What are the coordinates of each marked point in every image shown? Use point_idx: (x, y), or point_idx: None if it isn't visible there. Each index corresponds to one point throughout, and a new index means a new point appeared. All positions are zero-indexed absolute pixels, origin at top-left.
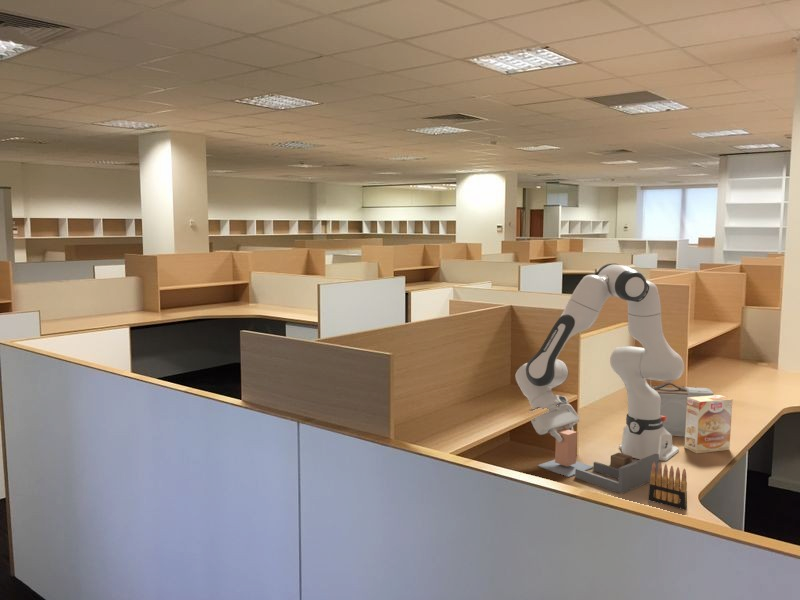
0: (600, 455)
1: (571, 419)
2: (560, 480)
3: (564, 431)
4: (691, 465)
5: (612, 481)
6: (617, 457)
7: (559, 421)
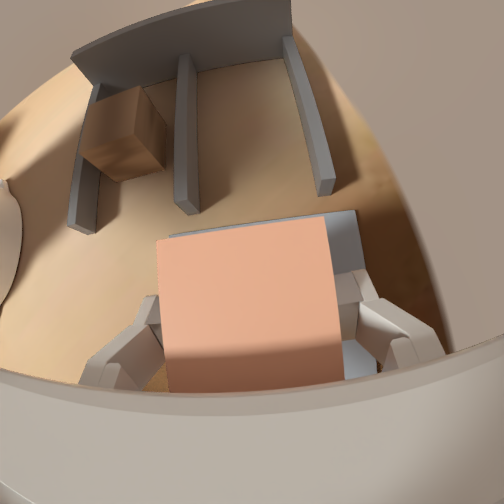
0: (57, 320)
1: (35, 403)
2: (402, 207)
3: (264, 333)
4: (8, 141)
5: (296, 48)
6: (135, 107)
7: (274, 453)
